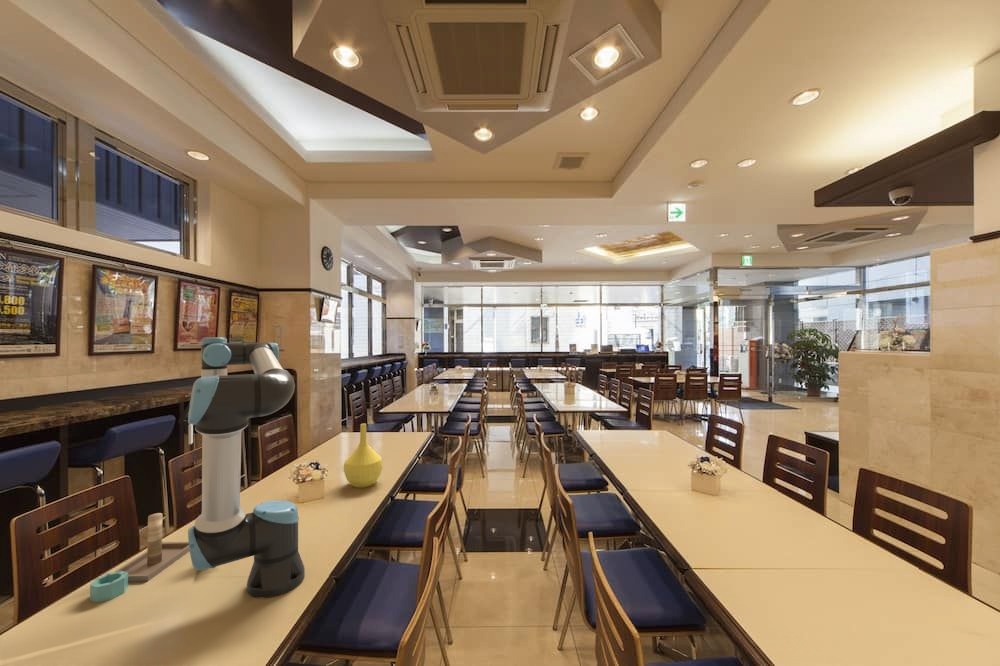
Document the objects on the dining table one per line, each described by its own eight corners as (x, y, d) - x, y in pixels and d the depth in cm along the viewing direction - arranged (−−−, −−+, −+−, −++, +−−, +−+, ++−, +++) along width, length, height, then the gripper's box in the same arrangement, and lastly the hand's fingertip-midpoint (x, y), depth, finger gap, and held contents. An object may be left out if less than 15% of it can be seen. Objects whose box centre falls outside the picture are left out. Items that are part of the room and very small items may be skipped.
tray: (147, 583, 121) (147, 575, 121) (106, 584, 120) (106, 576, 120) (196, 548, 141) (196, 541, 141) (161, 549, 140) (161, 542, 140)
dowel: (160, 563, 130) (160, 516, 130) (145, 566, 128) (146, 518, 128) (163, 558, 133) (163, 512, 133) (149, 560, 131) (149, 514, 131)
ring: (121, 599, 113) (121, 581, 114) (86, 607, 110) (86, 589, 110) (130, 585, 120) (130, 568, 120) (97, 592, 117) (97, 575, 117)
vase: (355, 476, 211) (355, 419, 211) (388, 478, 208) (388, 420, 209) (336, 490, 193) (336, 427, 193) (372, 492, 190) (372, 428, 190)
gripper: (256, 378, 152) (256, 434, 152) (172, 381, 141) (172, 442, 141) (254, 379, 146) (254, 438, 145) (167, 384, 134) (167, 448, 134)
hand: (214, 441), depth 143 cm, fingers open, 13 cm apart
